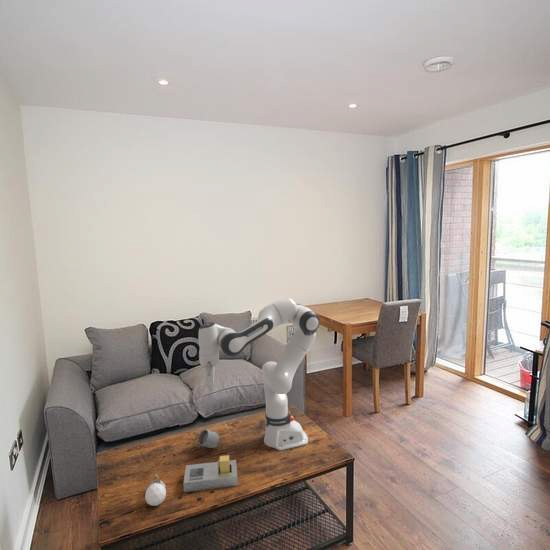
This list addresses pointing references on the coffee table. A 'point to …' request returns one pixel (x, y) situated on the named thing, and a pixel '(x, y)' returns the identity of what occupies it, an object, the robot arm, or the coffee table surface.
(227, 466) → the plug
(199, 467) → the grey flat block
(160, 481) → the house of cards
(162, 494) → the geometric ball
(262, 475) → the coffee table surface
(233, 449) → the coffee table surface
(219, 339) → the robot arm
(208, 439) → the ceramic mug
